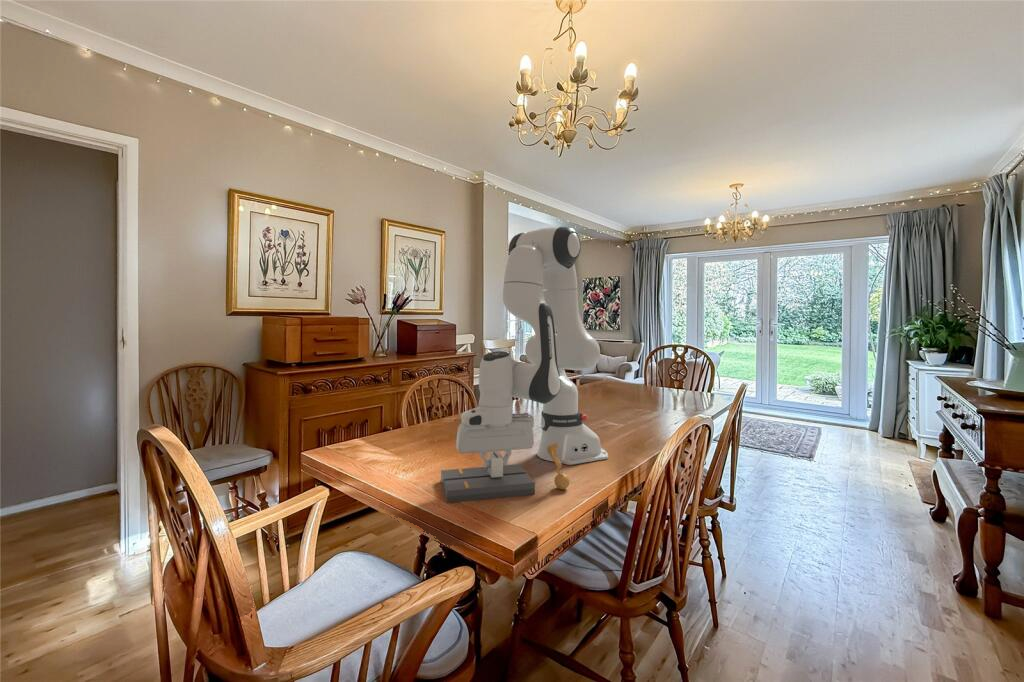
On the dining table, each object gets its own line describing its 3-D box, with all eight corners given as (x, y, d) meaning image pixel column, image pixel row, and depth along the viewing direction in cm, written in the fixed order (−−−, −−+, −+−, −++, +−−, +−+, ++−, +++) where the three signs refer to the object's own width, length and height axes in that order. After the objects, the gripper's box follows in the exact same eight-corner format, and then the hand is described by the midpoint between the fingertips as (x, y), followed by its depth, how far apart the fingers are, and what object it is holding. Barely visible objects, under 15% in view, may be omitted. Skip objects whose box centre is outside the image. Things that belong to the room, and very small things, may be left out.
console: (519, 474, 125) (519, 463, 125) (534, 494, 112) (534, 481, 111) (440, 481, 119) (440, 469, 119) (447, 503, 106) (447, 489, 106)
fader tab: (498, 476, 119) (499, 451, 118) (502, 482, 114) (503, 457, 114) (487, 477, 118) (488, 452, 117) (491, 483, 113) (491, 458, 113)
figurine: (570, 495, 111) (571, 448, 110) (546, 494, 111) (547, 447, 111) (568, 482, 119) (569, 439, 118) (546, 482, 120) (546, 438, 119)
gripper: (530, 410, 121) (529, 459, 121) (455, 413, 115) (455, 465, 116) (537, 415, 114) (536, 467, 115) (458, 419, 109) (458, 474, 110)
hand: (495, 466), depth 116 cm, fingers closed on fader tab, 3 cm apart
